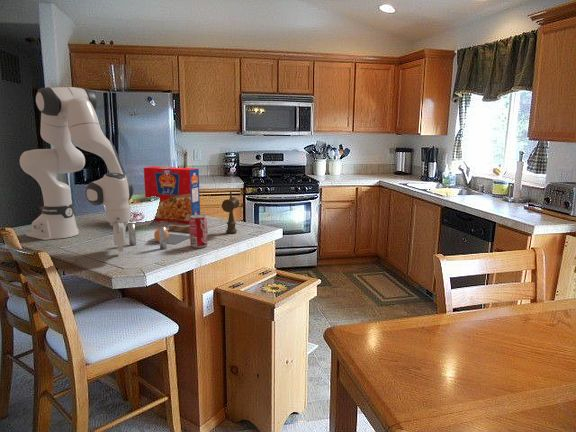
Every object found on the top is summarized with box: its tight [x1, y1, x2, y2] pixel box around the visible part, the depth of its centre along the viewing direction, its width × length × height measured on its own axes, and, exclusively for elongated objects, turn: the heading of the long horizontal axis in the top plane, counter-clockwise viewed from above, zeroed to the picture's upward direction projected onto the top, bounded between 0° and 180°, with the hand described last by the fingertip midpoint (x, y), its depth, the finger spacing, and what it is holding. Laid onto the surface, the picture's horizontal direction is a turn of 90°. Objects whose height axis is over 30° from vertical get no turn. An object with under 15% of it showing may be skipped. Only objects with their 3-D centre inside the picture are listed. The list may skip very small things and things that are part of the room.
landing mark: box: [148, 233, 190, 245], centre depth 189 cm, size 14×14×1 cm
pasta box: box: [143, 165, 201, 225], centre depth 223 cm, size 28×8×28 cm, turn 70°
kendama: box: [221, 190, 240, 234], centre depth 199 cm, size 6×10×20 cm, turn 169°
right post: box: [158, 225, 168, 250], centre depth 173 cm, size 3×3×9 cm
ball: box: [153, 228, 170, 243], centre depth 183 cm, size 6×6×6 cm
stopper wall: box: [168, 224, 208, 234], centre depth 201 cm, size 20×2×2 cm, turn 71°
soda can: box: [188, 214, 209, 249], centre depth 176 cm, size 7×7×13 cm
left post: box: [127, 223, 137, 247], centre depth 178 cm, size 3×3×9 cm
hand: (121, 250), depth 165 cm, fingers closed
